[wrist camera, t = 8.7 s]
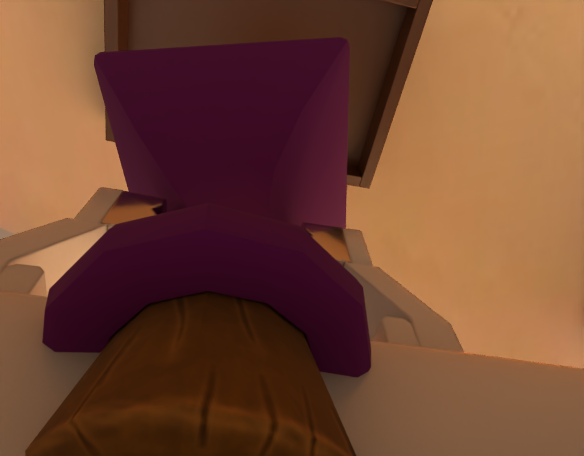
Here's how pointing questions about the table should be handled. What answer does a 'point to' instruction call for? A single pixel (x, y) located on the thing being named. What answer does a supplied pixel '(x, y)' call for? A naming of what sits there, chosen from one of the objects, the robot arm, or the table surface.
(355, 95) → the tray
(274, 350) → the perfume bottle
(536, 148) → the table surface
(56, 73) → the table surface
